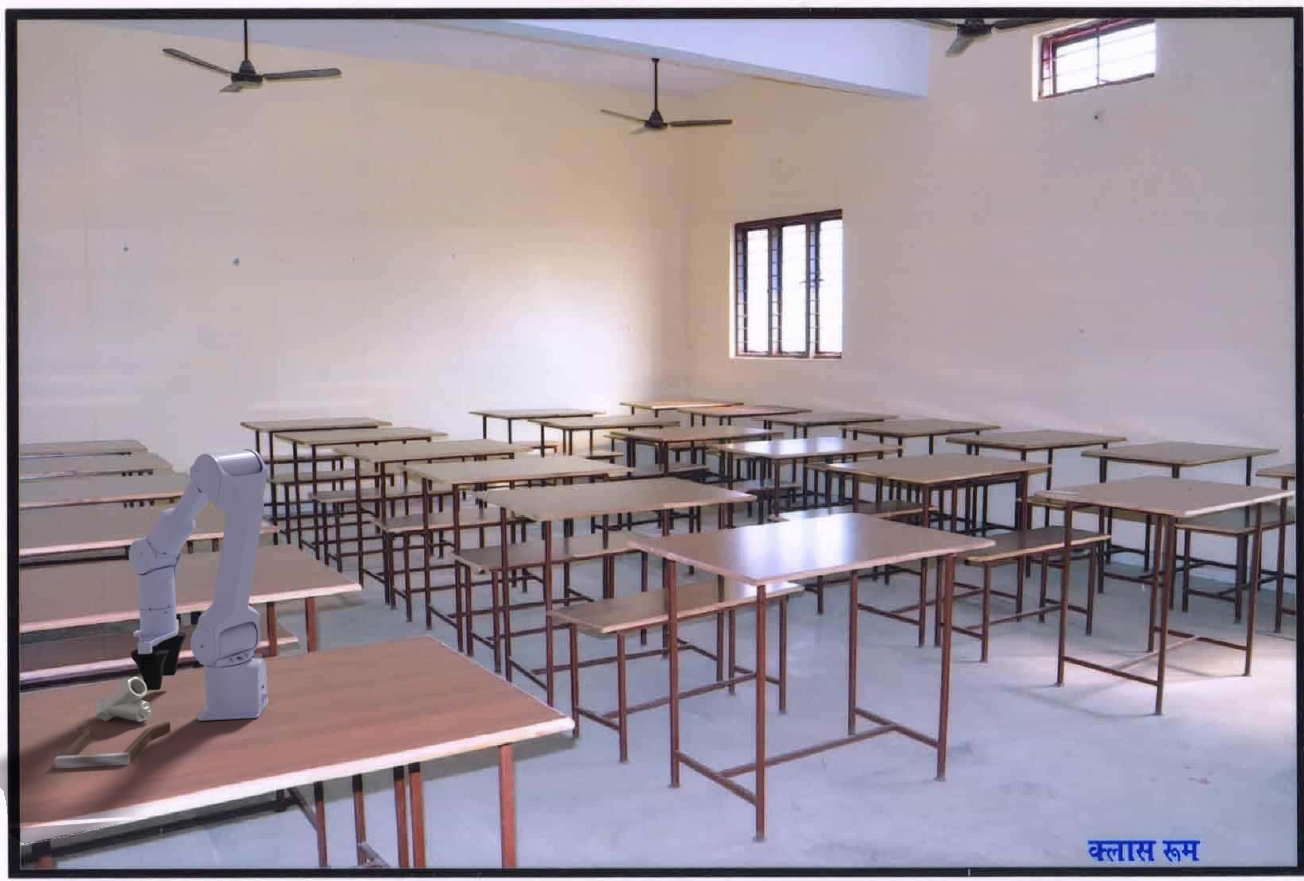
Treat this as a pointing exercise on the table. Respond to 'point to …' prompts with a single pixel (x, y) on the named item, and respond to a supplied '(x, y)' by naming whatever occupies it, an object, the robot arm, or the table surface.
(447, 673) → the table surface
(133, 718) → the pipe fitting
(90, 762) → the angular open frame
